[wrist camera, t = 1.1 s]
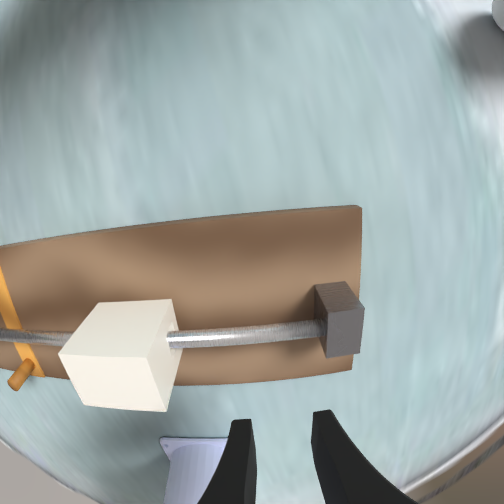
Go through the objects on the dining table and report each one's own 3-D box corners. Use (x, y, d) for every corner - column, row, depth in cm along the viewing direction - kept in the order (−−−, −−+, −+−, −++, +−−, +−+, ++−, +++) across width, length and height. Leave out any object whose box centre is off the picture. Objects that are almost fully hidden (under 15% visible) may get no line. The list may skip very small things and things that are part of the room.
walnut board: (347, 361, 22) (365, 401, 17) (-1, 361, 22) (-22, 386, 18) (356, 204, 18) (387, 222, 14) (-43, 254, 18) (-73, 271, 14)
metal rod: (339, 314, 20) (359, 353, 16) (3, 326, 20) (-23, 352, 16) (340, 274, 19) (364, 308, 15) (-8, 297, 19) (-37, 321, 15)
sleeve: (183, 348, 19) (166, 411, 13) (114, 348, 19) (83, 404, 13) (171, 298, 17) (146, 357, 12) (98, 302, 17) (57, 353, 12)
